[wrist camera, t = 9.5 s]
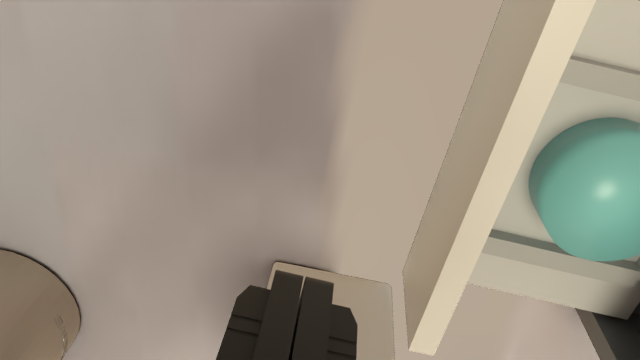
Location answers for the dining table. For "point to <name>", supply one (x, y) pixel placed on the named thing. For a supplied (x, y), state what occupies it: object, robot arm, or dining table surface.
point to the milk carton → (358, 308)
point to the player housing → (613, 334)
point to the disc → (591, 189)
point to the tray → (524, 165)
